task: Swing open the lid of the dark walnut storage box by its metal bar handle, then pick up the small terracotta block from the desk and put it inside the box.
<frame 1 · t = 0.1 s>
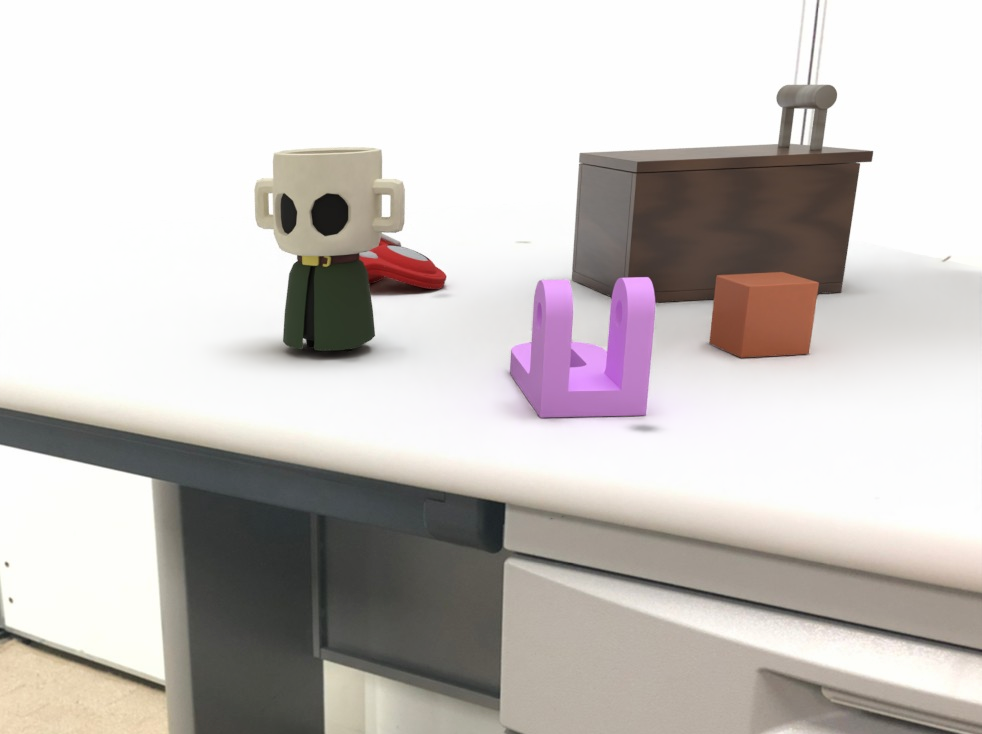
lid: (721, 125, 95), point 13 cm above the table, hinge at 0.0°
walnut box: (699, 285, 100), on the table
block: (757, 348, 77), on the table
character mug: (328, 352, 82), on the table
tracker holder: (395, 286, 107), on the table
bracket: (568, 390, 70), on the table
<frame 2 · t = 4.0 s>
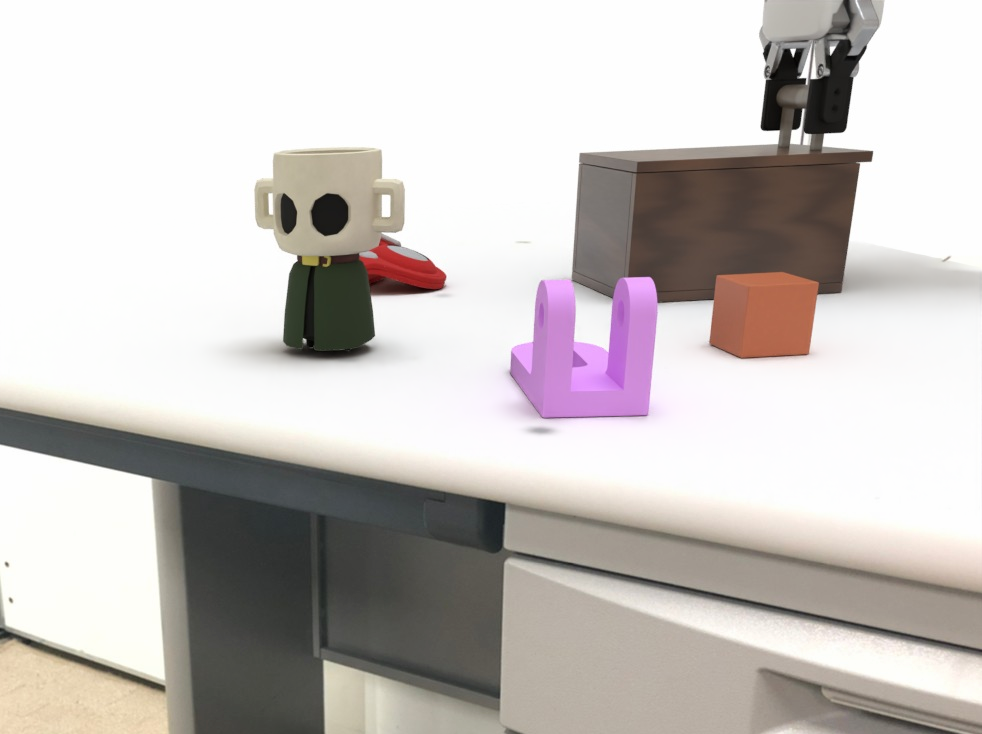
hand: (801, 129, 96), 12 cm above the table, tool pointing down, fingers closed on lid, 6 cm apart
lid: (721, 125, 95), point 13 cm above the table, hinge at 0.0°, touching gripper
everything else where it was.
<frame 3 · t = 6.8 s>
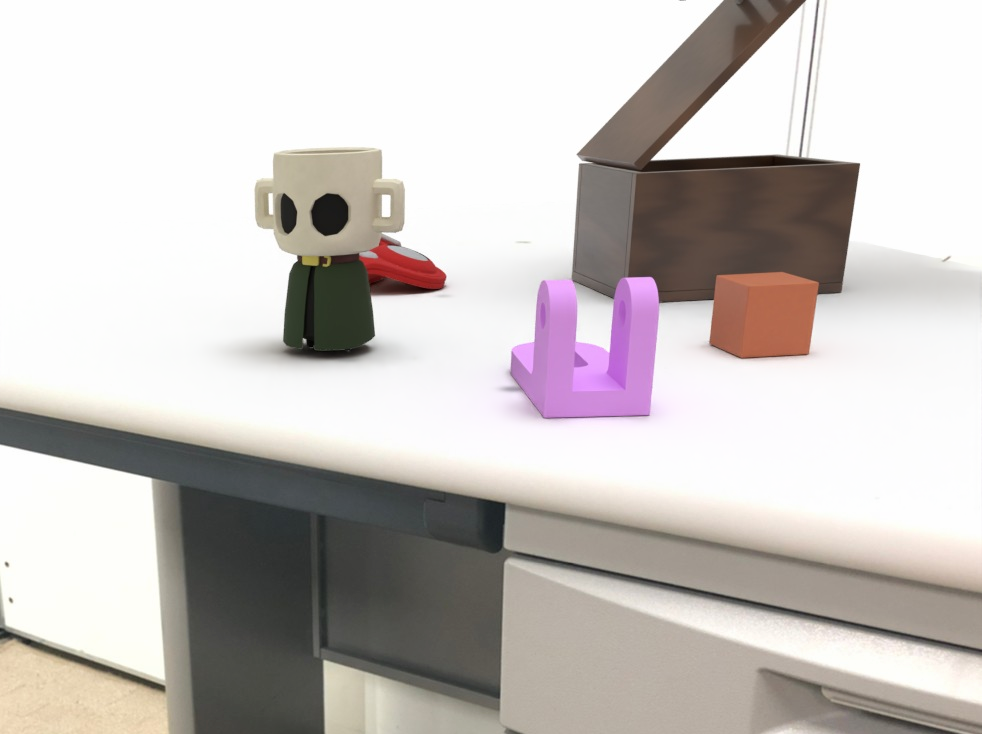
lid: (675, 48, 93), point 18 cm above the table, hinge at 44.9°, touching gripper
everything else where it was.
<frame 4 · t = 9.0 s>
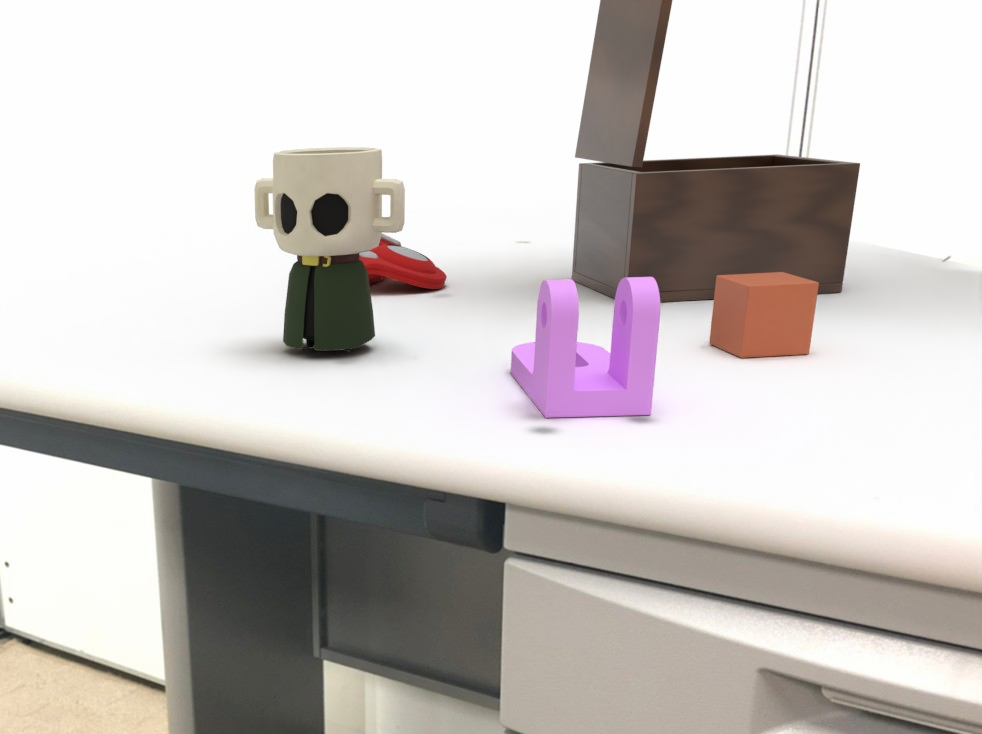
lid: (598, 34, 92), point 20 cm above the table, hinge at 83.8°, touching gripper
everything else where it was.
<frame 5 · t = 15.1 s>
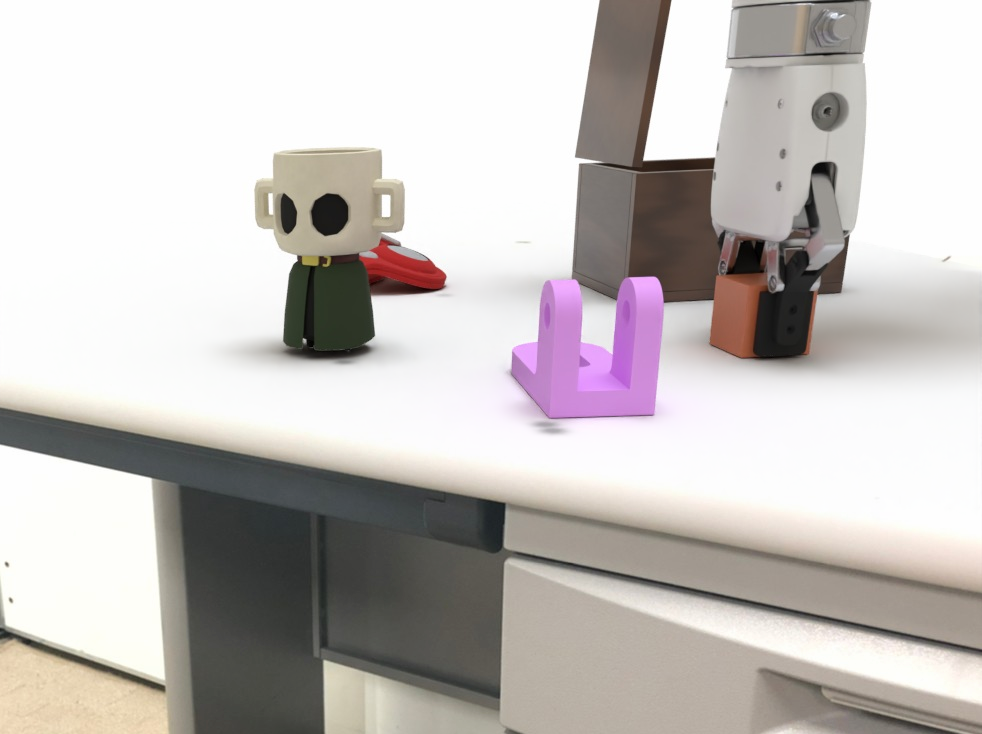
hand: (758, 343, 77), 0 cm above the table, tool pointing down, fingers closed on block, 4 cm apart
lid: (597, 34, 92), point 20 cm above the table, hinge at 84.1°
block: (757, 348, 77), on the table, touching gripper
everything else where it was.
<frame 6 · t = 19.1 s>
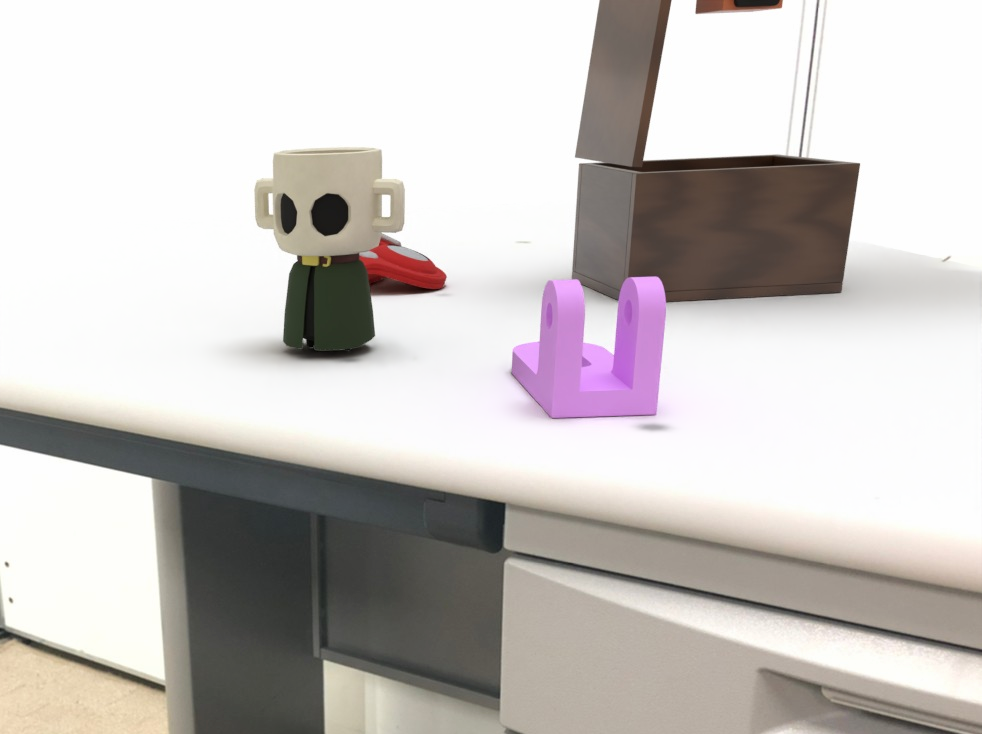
hand: (738, 5, 88), 21 cm above the table, tool pointing down, fingers closed on block, 4 cm apart
block: (737, 11, 88), point 21 cm above the table, touching gripper
everything else where it was.
when the fingers open (8 cm above the table, at t = 23.1 s): block drops 7 cm, resting on walnut box.
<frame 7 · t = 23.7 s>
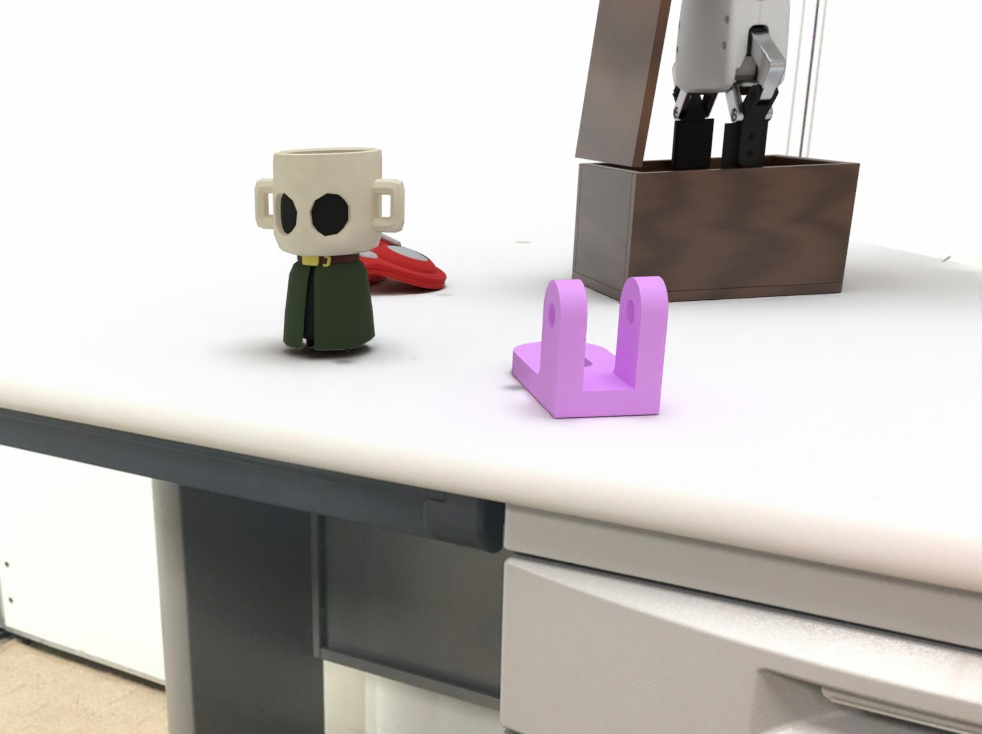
hand: (714, 172, 97), 9 cm above the table, tool pointing down, fingers open, 8 cm apart
block: (700, 276, 100), point 1 cm above the table, touching walnut box
everything else where it was.
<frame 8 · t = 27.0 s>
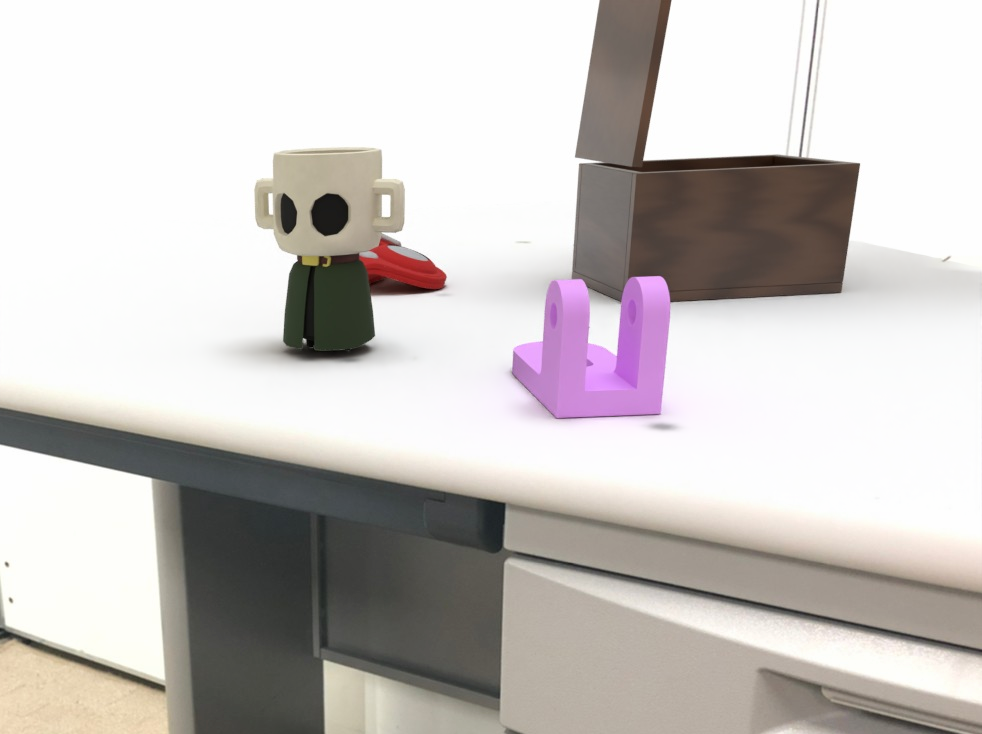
nothing on the table moved.
at the end: lid at +84° (first picture: +0°); block inside the target area in the walnut box (0.0 cm from its centre), point 0.8 cm above the walnut box's base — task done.
